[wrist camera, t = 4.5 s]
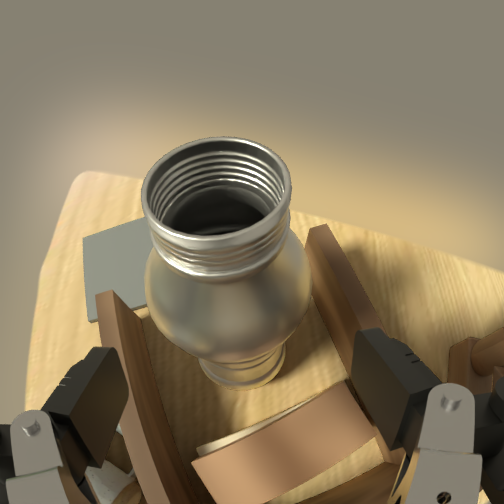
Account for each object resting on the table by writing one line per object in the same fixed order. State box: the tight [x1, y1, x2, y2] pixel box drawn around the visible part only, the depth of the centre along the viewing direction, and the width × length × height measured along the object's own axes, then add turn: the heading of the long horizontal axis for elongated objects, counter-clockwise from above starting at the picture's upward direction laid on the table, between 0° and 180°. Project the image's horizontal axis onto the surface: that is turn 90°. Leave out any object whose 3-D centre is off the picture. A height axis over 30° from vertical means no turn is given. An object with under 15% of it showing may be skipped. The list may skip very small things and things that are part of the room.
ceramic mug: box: [85, 424, 141, 504], centre depth 15 cm, size 11×8×8 cm
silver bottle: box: [141, 136, 313, 391], centre depth 16 cm, size 6×7×20 cm
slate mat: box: [83, 217, 154, 323], centre depth 28 cm, size 10×10×1 cm
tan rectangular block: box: [191, 380, 377, 504], centre depth 18 cm, size 12×5×6 cm, turn 115°
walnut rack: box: [95, 224, 483, 504], centre depth 17 cm, size 18×22×12 cm
